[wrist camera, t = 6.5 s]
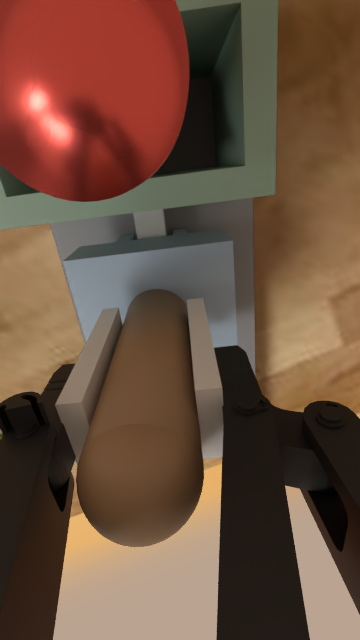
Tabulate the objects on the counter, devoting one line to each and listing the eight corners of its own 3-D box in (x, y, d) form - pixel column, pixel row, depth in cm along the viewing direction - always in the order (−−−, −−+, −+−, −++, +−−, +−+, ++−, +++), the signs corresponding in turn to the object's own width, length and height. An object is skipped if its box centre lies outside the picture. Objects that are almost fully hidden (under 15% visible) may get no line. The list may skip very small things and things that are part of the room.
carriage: (111, 340, 22) (9, 626, 8) (87, 240, 19) (-138, 433, 5) (226, 327, 22) (313, 602, 8) (220, 223, 19) (343, 384, 5)
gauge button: (94, 187, 15) (-3, 214, 7) (69, 73, 13) (-109, -81, 5) (185, 175, 15) (199, 187, 7) (174, 58, 13) (173, -127, 5)
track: (116, 429, 28) (91, 545, 19) (21, 87, 17) (-134, 8, 8) (252, 416, 28) (287, 528, 19) (244, 55, 17) (318, -62, 8)
